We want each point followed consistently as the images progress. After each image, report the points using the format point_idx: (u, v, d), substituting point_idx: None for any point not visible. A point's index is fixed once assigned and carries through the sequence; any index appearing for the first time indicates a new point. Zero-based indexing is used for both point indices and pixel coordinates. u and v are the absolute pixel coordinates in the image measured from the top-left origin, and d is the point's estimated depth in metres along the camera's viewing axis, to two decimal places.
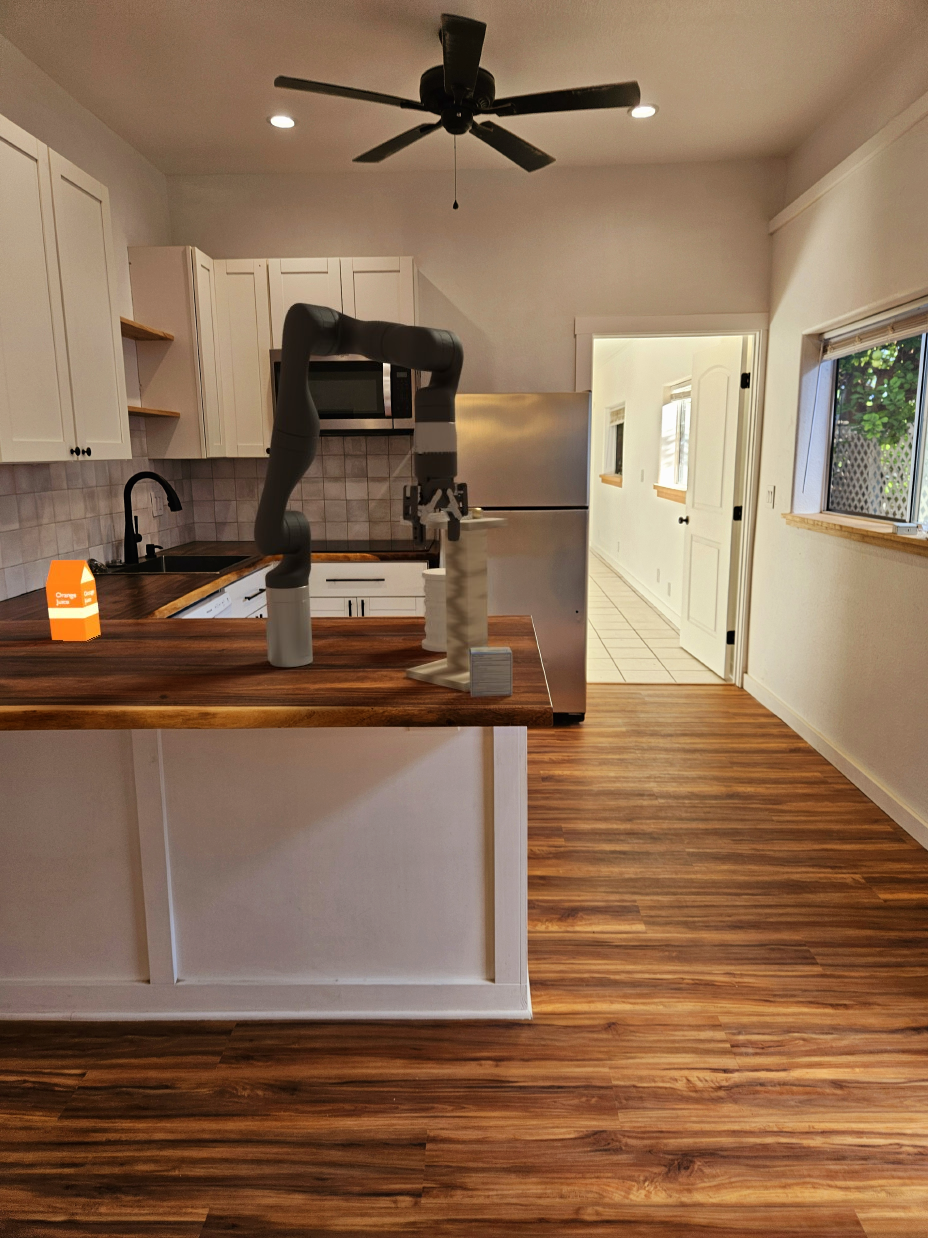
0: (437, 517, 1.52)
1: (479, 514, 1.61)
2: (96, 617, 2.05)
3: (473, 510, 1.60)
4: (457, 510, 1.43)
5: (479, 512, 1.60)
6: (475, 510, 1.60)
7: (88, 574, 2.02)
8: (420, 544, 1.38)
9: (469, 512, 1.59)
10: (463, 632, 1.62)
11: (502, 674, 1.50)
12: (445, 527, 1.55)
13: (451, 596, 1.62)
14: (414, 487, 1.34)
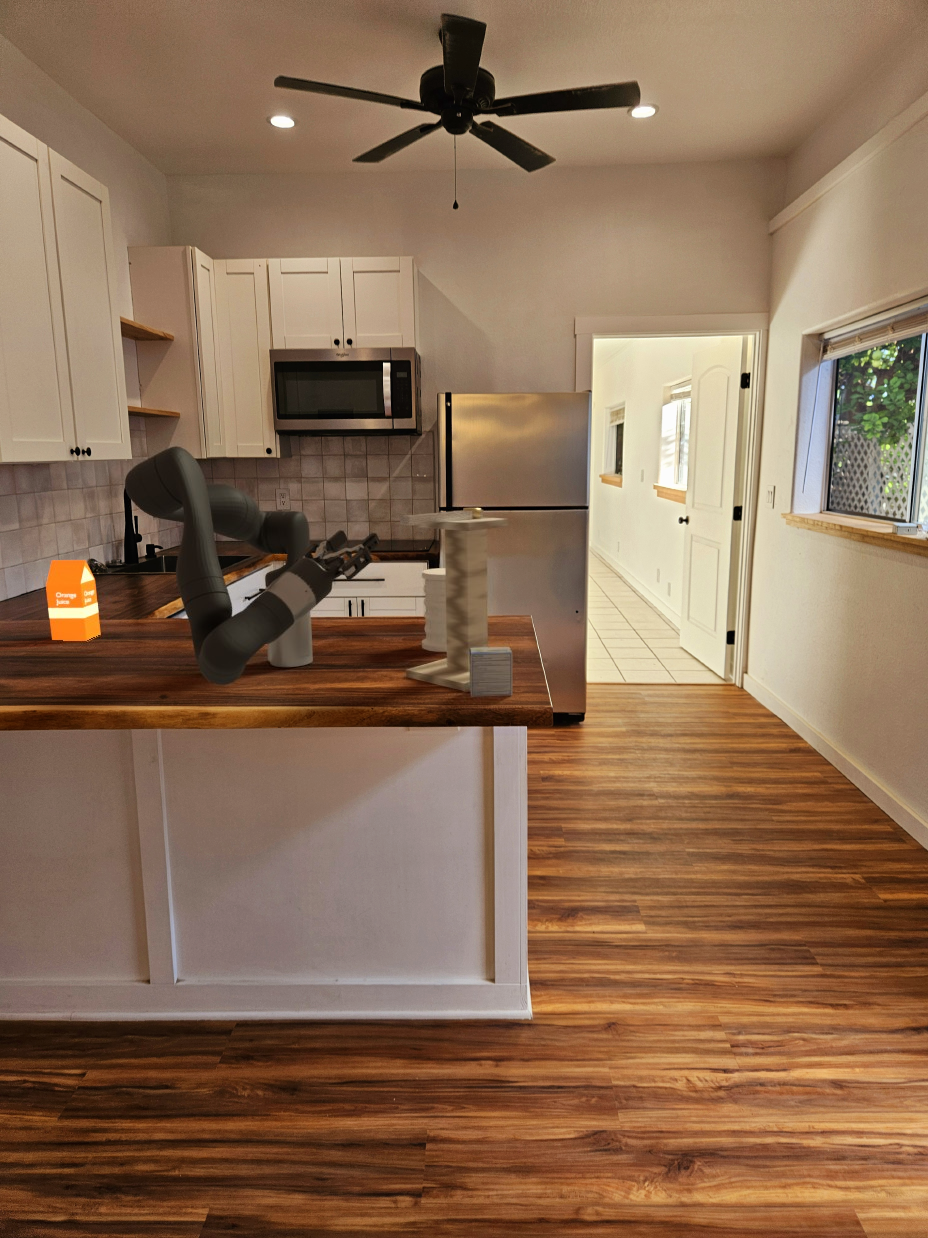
0: (437, 517, 1.52)
1: (479, 514, 1.61)
2: (96, 617, 2.05)
3: (473, 510, 1.60)
4: None
5: (479, 512, 1.60)
6: (475, 510, 1.60)
7: (88, 574, 2.02)
8: None
9: (469, 512, 1.59)
10: (463, 632, 1.62)
11: (502, 674, 1.50)
12: (445, 527, 1.55)
13: (451, 596, 1.62)
14: None
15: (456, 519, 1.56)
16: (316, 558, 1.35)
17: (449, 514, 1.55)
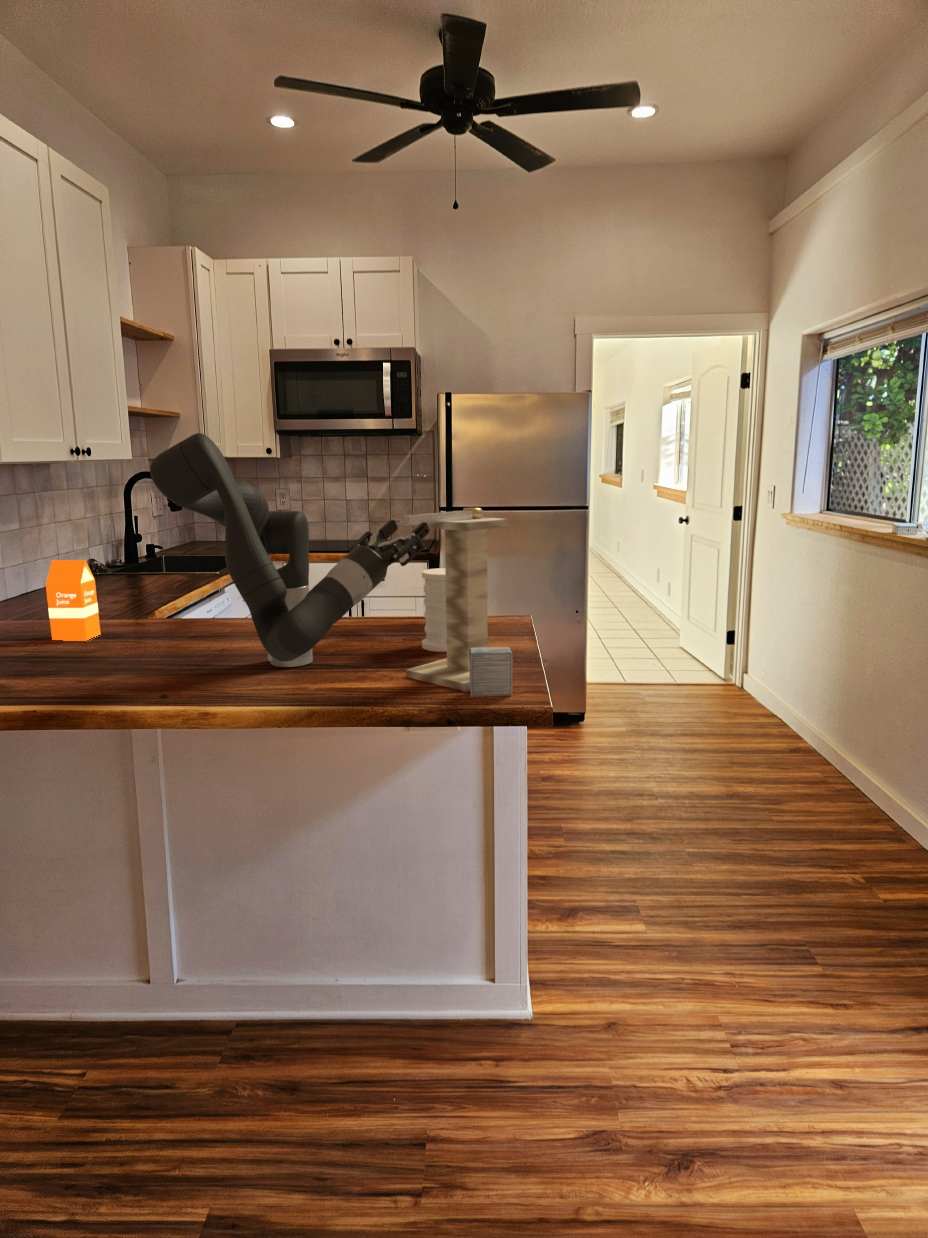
0: (437, 517, 1.52)
1: (479, 514, 1.61)
2: (96, 617, 2.05)
3: (473, 510, 1.60)
4: None
5: (479, 512, 1.60)
6: (475, 510, 1.60)
7: (88, 574, 2.02)
8: None
9: (469, 512, 1.59)
10: (463, 632, 1.62)
11: (502, 674, 1.50)
12: (445, 527, 1.55)
13: (451, 596, 1.62)
14: None
15: (456, 519, 1.56)
16: (371, 546, 1.44)
17: (449, 514, 1.55)
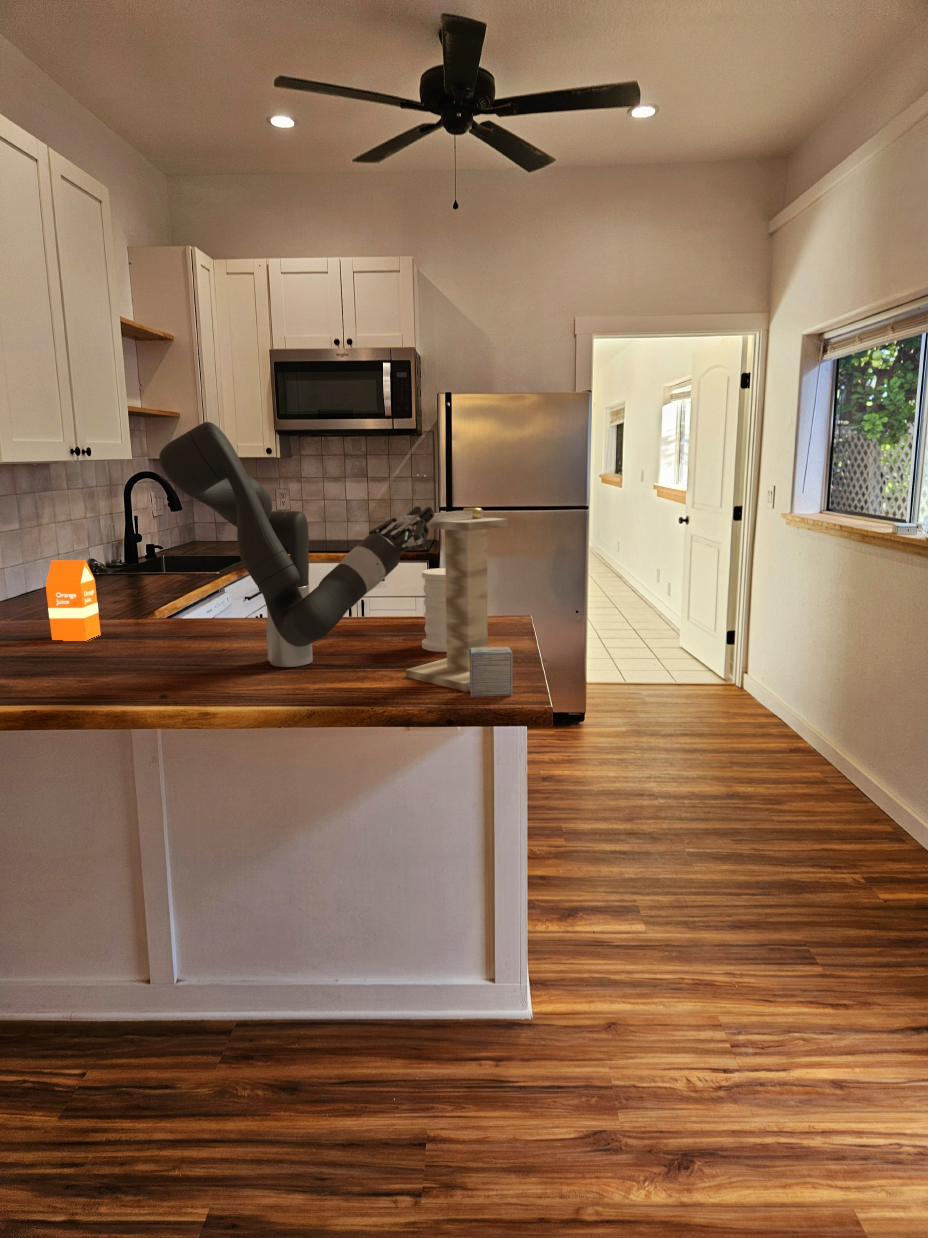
0: (437, 517, 1.52)
1: (479, 514, 1.61)
2: (96, 617, 2.05)
3: (473, 510, 1.60)
4: None
5: (479, 512, 1.60)
6: (475, 510, 1.60)
7: (88, 574, 2.02)
8: None
9: (469, 512, 1.59)
10: (463, 632, 1.62)
11: (502, 674, 1.50)
12: (445, 527, 1.55)
13: (451, 596, 1.62)
14: None
15: (456, 519, 1.56)
16: (382, 534, 1.46)
17: (449, 514, 1.55)
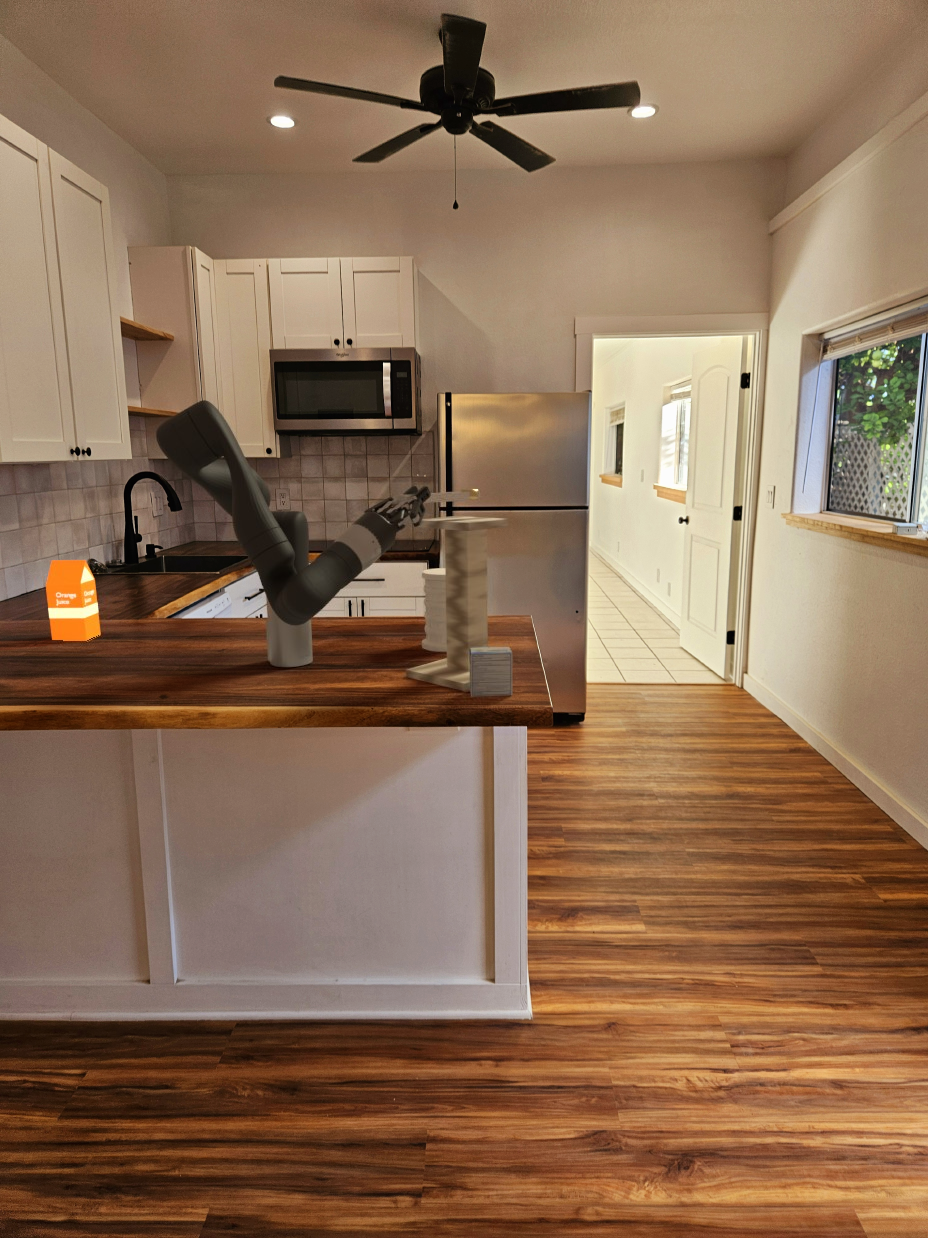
0: (434, 497, 1.51)
1: (476, 495, 1.59)
2: (96, 617, 2.05)
3: (470, 491, 1.58)
4: None
5: (476, 493, 1.59)
6: (472, 491, 1.58)
7: (88, 574, 2.02)
8: (415, 492, 1.51)
9: (466, 493, 1.58)
10: (463, 632, 1.62)
11: (502, 674, 1.50)
12: (445, 527, 1.55)
13: (451, 596, 1.62)
14: None
15: (453, 499, 1.55)
16: (378, 513, 1.44)
17: (446, 494, 1.53)
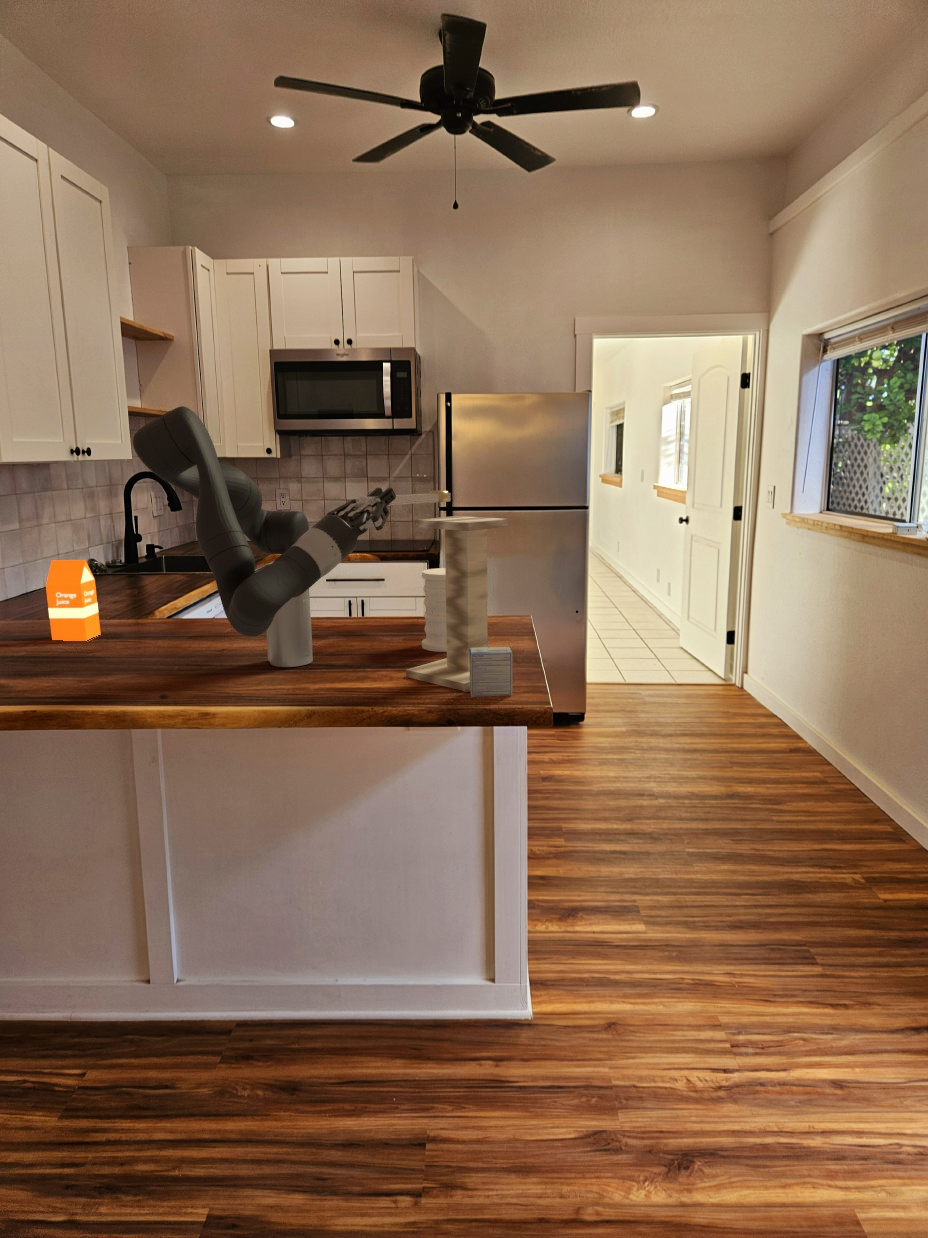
0: (399, 499, 1.44)
1: (446, 497, 1.53)
2: (96, 617, 2.05)
3: (439, 493, 1.52)
4: None
5: (446, 495, 1.53)
6: (441, 493, 1.52)
7: (88, 574, 2.02)
8: None
9: (435, 495, 1.51)
10: (463, 632, 1.62)
11: (502, 674, 1.50)
12: (445, 527, 1.55)
13: (451, 596, 1.62)
14: None
15: (421, 502, 1.49)
16: (339, 516, 1.38)
17: (413, 496, 1.47)
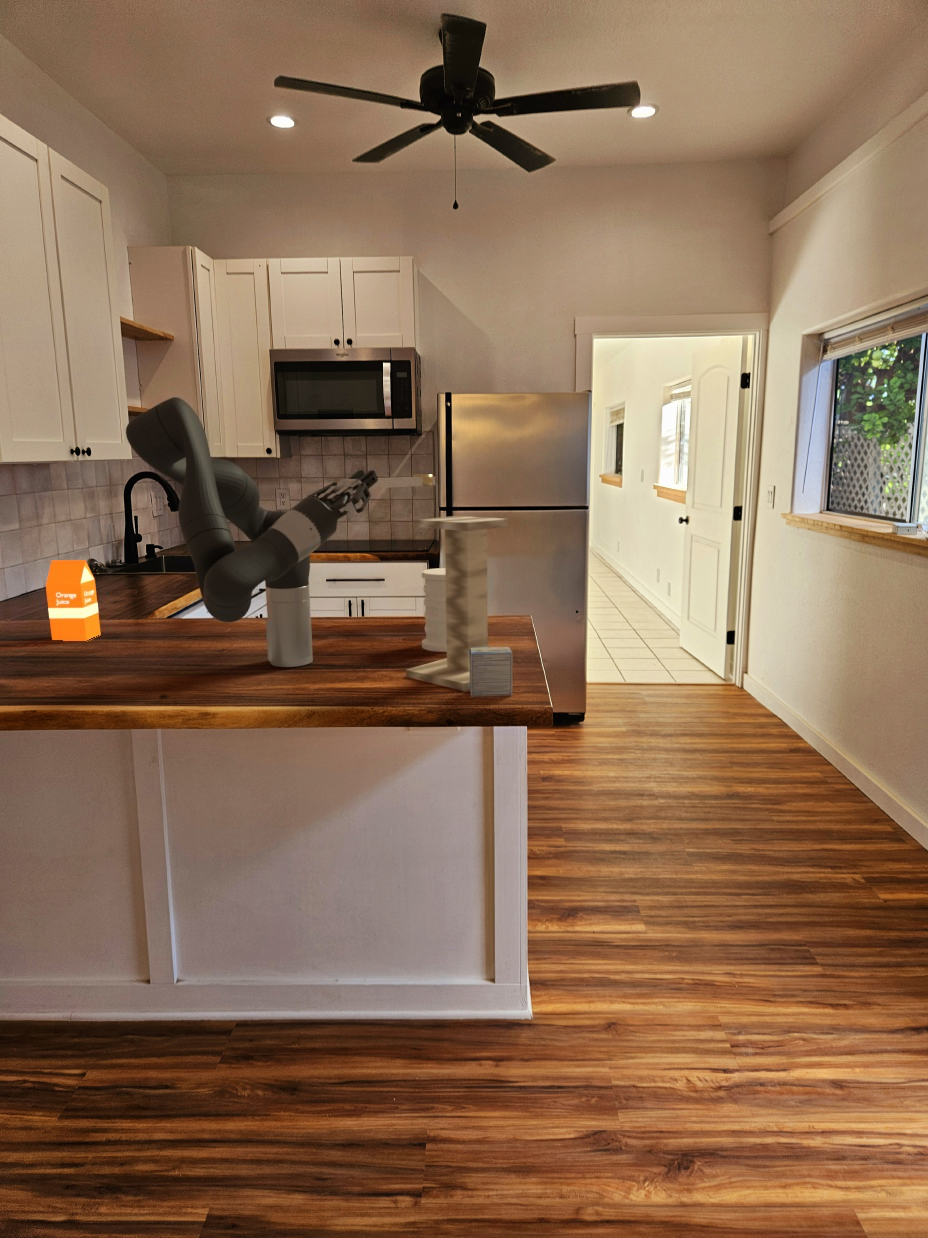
0: (382, 482, 1.41)
1: (430, 481, 1.49)
2: (96, 617, 2.05)
3: (423, 476, 1.48)
4: None
5: (430, 478, 1.49)
6: (426, 476, 1.48)
7: (88, 574, 2.02)
8: None
9: (419, 478, 1.47)
10: (463, 632, 1.62)
11: (502, 674, 1.50)
12: (445, 527, 1.55)
13: (451, 596, 1.62)
14: None
15: (404, 485, 1.45)
16: (319, 498, 1.34)
17: (396, 479, 1.43)
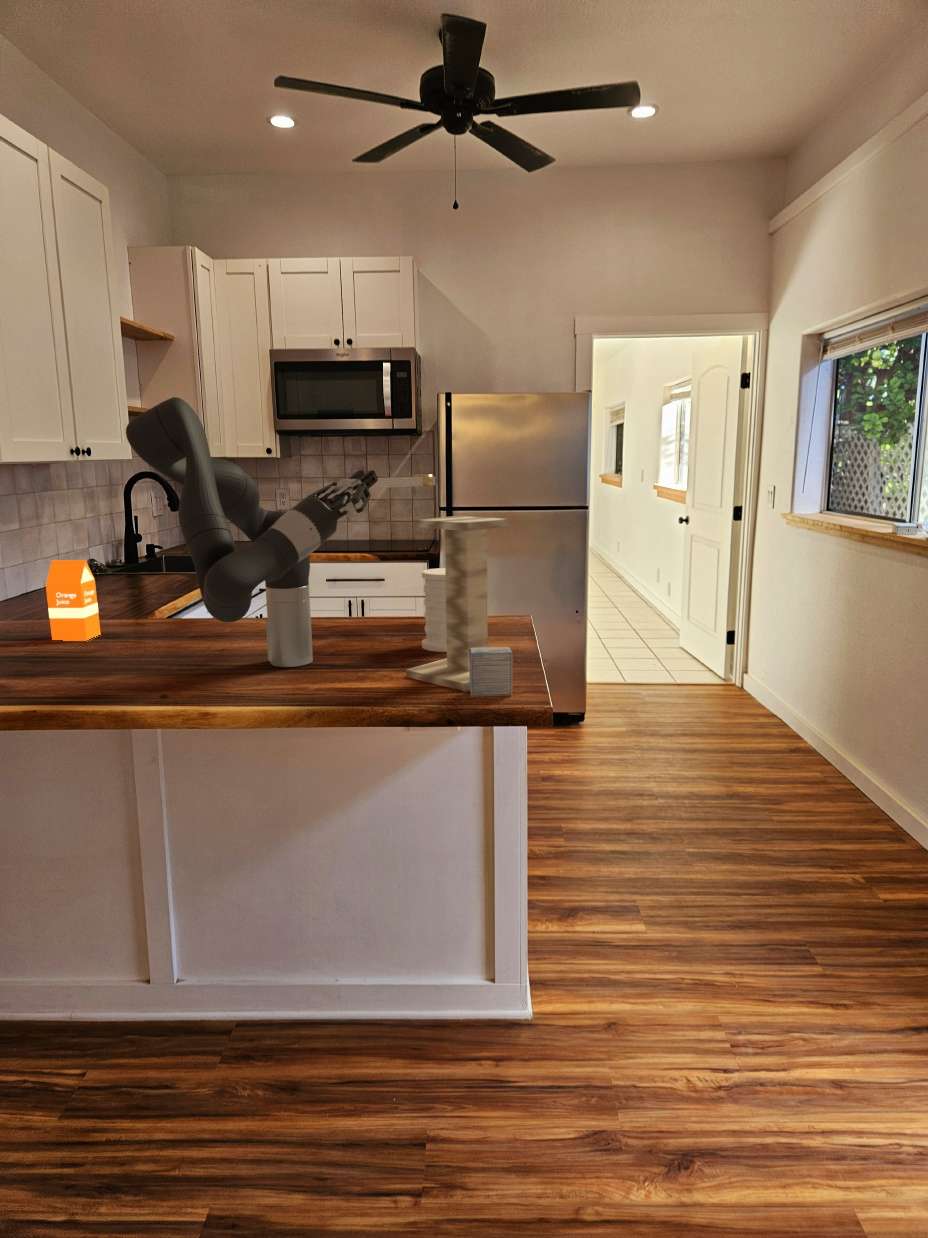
0: (382, 482, 1.41)
1: (430, 481, 1.49)
2: (96, 617, 2.05)
3: (423, 476, 1.48)
4: None
5: (430, 478, 1.49)
6: (426, 476, 1.48)
7: (88, 574, 2.02)
8: None
9: (419, 478, 1.47)
10: (463, 632, 1.62)
11: (502, 674, 1.50)
12: (445, 527, 1.55)
13: (451, 596, 1.62)
14: None
15: (404, 485, 1.45)
16: (319, 498, 1.34)
17: (396, 479, 1.43)
